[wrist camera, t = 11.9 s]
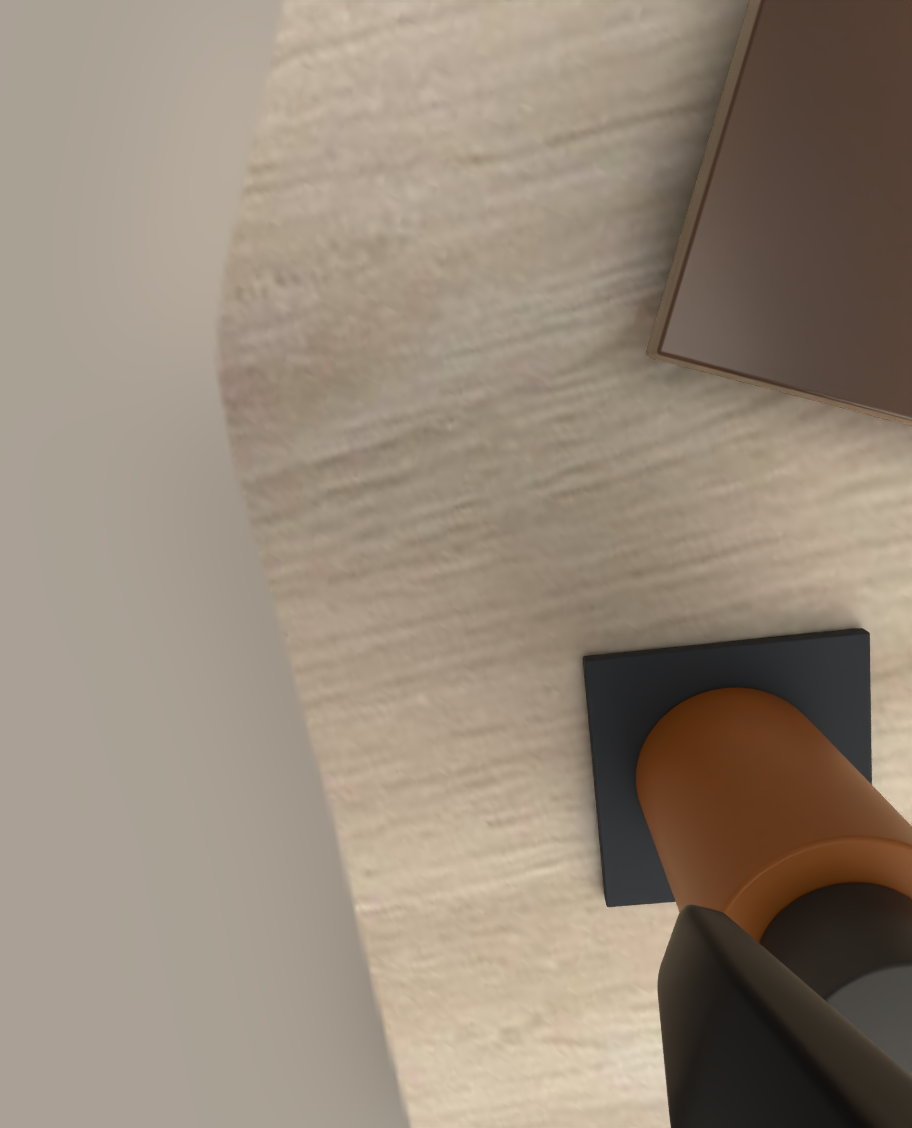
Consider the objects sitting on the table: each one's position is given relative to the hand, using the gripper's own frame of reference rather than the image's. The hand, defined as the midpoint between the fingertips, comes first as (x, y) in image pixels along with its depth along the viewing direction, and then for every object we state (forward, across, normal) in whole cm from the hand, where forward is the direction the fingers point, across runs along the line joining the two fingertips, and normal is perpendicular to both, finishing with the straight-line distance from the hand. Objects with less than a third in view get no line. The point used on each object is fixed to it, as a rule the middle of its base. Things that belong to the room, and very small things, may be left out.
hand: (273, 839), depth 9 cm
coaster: (+12, -10, +3) cm, 16 cm away
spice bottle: (+12, -10, +3) cm, 15 cm away
